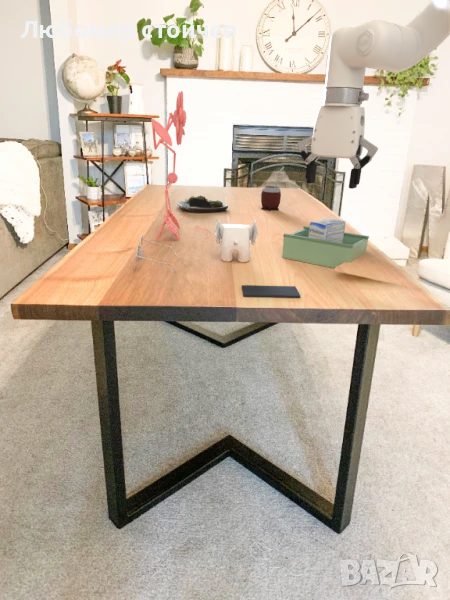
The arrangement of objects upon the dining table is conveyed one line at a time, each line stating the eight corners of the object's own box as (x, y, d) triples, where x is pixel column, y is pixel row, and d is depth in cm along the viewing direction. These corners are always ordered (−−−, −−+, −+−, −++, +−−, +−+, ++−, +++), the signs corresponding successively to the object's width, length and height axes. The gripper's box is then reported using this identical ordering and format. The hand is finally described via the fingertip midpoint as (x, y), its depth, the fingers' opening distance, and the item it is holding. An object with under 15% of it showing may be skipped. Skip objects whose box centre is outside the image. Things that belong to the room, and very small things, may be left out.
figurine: (148, 247, 106) (144, 85, 93) (160, 224, 130) (157, 93, 117) (213, 248, 107) (216, 88, 94) (212, 226, 131) (215, 96, 118)
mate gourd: (259, 210, 159) (262, 166, 153) (261, 206, 166) (263, 165, 160) (280, 211, 158) (284, 167, 152) (281, 208, 165) (284, 166, 160)
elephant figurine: (254, 251, 106) (257, 214, 102) (257, 266, 94) (259, 225, 91) (214, 249, 106) (216, 212, 102) (212, 264, 94) (213, 223, 91)
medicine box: (325, 253, 106) (329, 217, 103) (341, 257, 103) (346, 220, 100) (305, 259, 101) (309, 221, 98) (322, 263, 98) (326, 225, 95)
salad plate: (166, 204, 163) (166, 192, 161) (210, 202, 170) (210, 190, 169) (186, 214, 147) (186, 200, 145) (233, 211, 154) (234, 198, 153)
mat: (295, 288, 82) (295, 286, 82) (300, 298, 78) (300, 295, 77) (241, 287, 82) (241, 285, 82) (243, 296, 77) (243, 294, 77)
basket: (365, 259, 102) (369, 236, 100) (348, 271, 93) (351, 245, 91) (302, 247, 111) (305, 226, 109) (281, 257, 101) (283, 234, 99)
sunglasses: (139, 254, 99) (142, 233, 98) (176, 260, 101) (180, 239, 99) (132, 273, 87) (135, 249, 85) (175, 280, 88) (179, 256, 86)
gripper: (390, 101, 88) (375, 188, 95) (310, 100, 97) (302, 180, 104) (379, 98, 83) (364, 191, 89) (295, 97, 91) (287, 182, 98)
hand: (331, 185), depth 96 cm, fingers open, 9 cm apart
